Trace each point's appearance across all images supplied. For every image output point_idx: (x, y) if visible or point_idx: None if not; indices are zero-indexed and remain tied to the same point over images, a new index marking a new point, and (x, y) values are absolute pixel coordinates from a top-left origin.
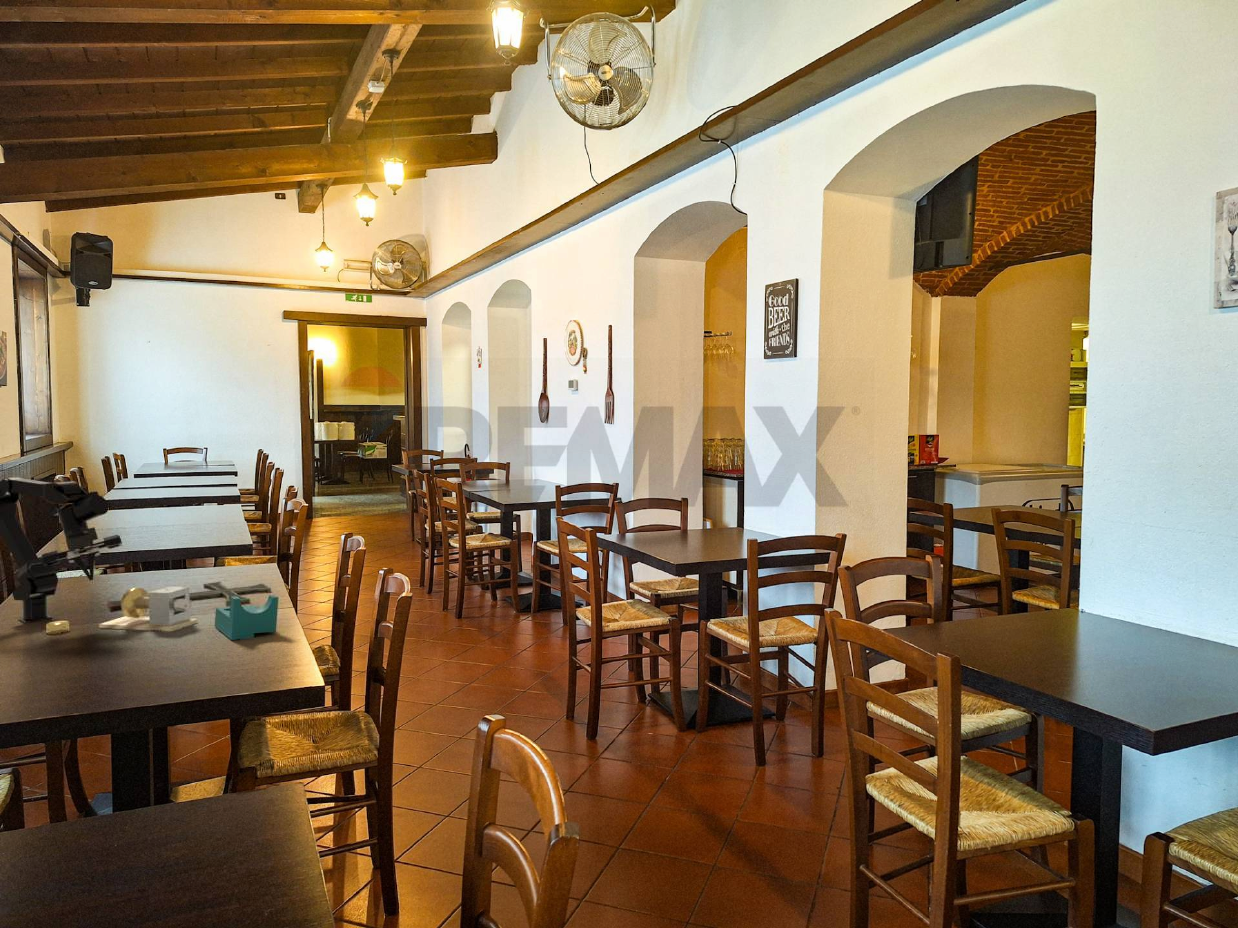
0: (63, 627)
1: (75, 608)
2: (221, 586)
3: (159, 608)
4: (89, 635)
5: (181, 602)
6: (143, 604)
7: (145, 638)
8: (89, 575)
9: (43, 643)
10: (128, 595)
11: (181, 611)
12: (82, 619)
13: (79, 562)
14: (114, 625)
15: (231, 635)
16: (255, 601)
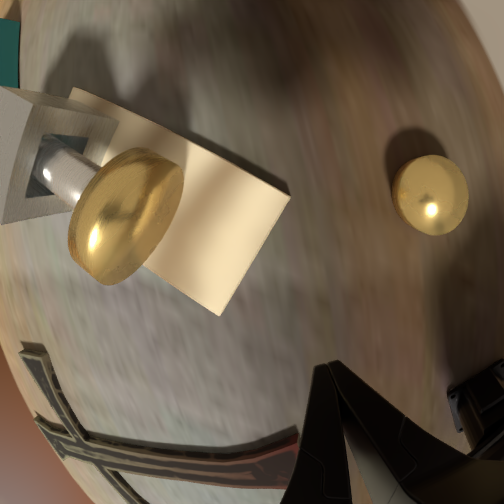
0: (407, 164)
1: None
2: (112, 484)
3: (56, 100)
4: (296, 80)
5: None
6: (96, 166)
7: (130, 24)
8: (341, 385)
9: (410, 29)
10: (115, 167)
11: None
12: (370, 362)
13: (448, 473)
14: (229, 162)
15: (14, 21)
16: None
